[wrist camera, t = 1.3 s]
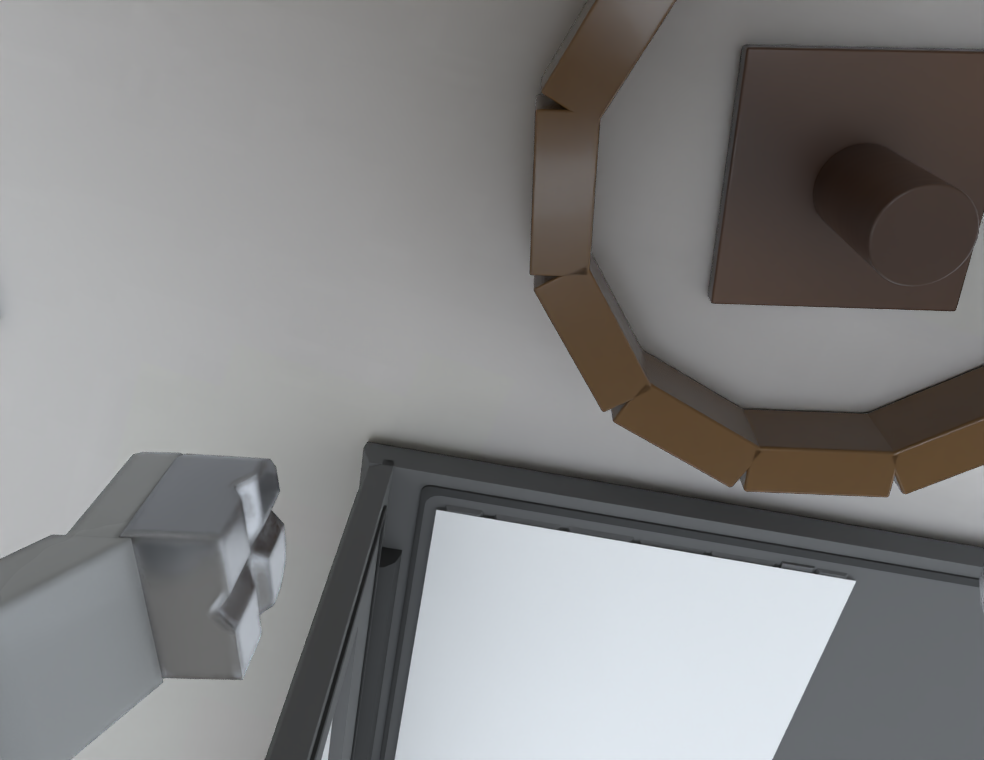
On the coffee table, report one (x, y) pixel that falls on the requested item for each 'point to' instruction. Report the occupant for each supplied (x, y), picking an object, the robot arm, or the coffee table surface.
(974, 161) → the stand
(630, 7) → the hoop
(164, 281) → the coffee table surface
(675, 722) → the laptop
